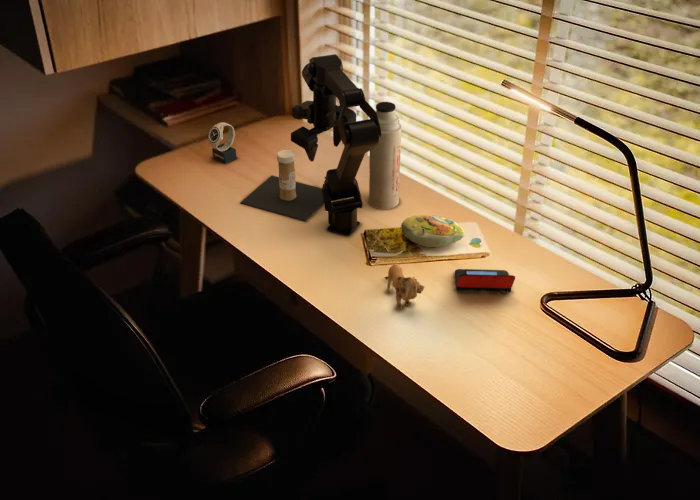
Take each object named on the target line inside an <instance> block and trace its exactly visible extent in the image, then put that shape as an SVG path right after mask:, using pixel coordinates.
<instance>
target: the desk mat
mask: <svg viewBox="0 0 700 500" xmlns="http://www.w3.org/2000/svg"><path fill="white" fill-rule="evenodd" d="M295 182H296V198H295V199H293V200H290V201H285V200H282V199H281V198H280V187H279V176H275V175H270V176H269V177H268V178H267V179H266V180H264V181H263V182H262V183H261V184H260V185H259V186H258V187H256V188H255V189H254V190H253V191H252V192H251V193H249V194H248V195H247V196H246V197H244V199H243V200H241V201H240V204H241V205H244V206H248V207H252V208H255V209H258V210H263V211H265V212H270V213H274V214H277V215H280V216H284V217H288V218H292V219H295V220H299V221H303V222H307V221H308V220H309V219H311V217H312V216H313V215H314V214H315V213H316V212H317V211H318V210H319V209H320V208H321V207H322V206H324V200H323V195H322V187H318V186H314V185H310V184H306V183H304V182H300V181H295Z"/></svg>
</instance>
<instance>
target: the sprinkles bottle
mask: <svg viewBox="0 0 700 500" xmlns="http://www.w3.org/2000/svg"><path fill="white" fill-rule="evenodd" d="M295 155H296V154H295V152H294V151H293V150H291V149H281V150H279V151H278V152H277V153H276V159H277V163H278V165H277V166H278V177H279V187H280V198H281V199H282V200H285V201H290V200H293V199H295V198H296V182H297V181H296V168H295V166H296V165H295V159H296V158H295V157H296V156H295Z"/></svg>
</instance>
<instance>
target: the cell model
mask: <svg viewBox="0 0 700 500" xmlns="http://www.w3.org/2000/svg"><path fill="white" fill-rule="evenodd" d="M400 226H401V228H400V229H401V232H402V233H403V235H404V236H405V237H406V238H407V239H408V240H409V241H410V242H412V243H414V244H416V245H420V246H422V247H426V248H427V247H428V248H441V247H442V248H443V247H446V246H449V245H451V244H453V243H456V242H458V241H460V240H462V239H463V238H464V237H465V231H464V229H463V227H462V226H461V225H460V224H458V223H457V222H456V221H454V220H452V219H449V218H447V217H443V216H438V215H430V214H421V215H412V216H409V217H407V218H406V219H404V220H403V221H402V222H401V225H400Z"/></svg>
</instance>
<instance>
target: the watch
mask: <svg viewBox="0 0 700 500" xmlns="http://www.w3.org/2000/svg"><path fill="white" fill-rule="evenodd" d="M226 126H227V127H228V132H227V136H226V139H225V143H221V144H220V142H222V141H223V139H224V133H223V132H224V127H226ZM235 136H236V132H235V128H234V126H233V125H231V124H229V123H228V122H225V121H221V122H218V123H216V124H214V126H212V127H210V129H209V131H208V133H207V139H208V141H209V144H210V146H211V147H212V148H211V151H212V159H214V160H217V161H219V162H220V163H222V164H224V165H226V164H229V163H231V162H233V161H234V160H237V158H238V157H237V149H236V148H234V147H232V146H233V143H234V142H235V141H234V140H235Z"/></svg>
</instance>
